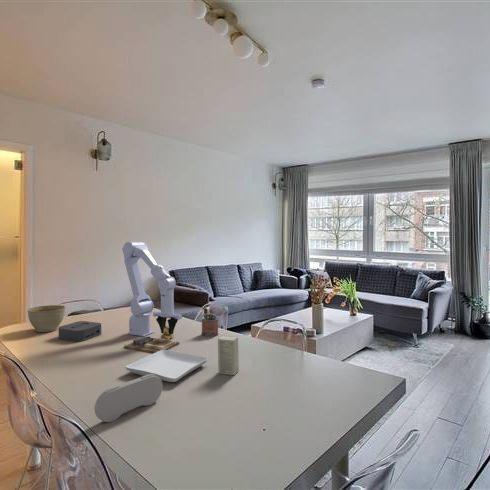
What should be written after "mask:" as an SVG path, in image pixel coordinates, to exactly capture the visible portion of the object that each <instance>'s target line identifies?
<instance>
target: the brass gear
mask: <svg viewBox="0 0 490 490" xmlns="http://www.w3.org/2000/svg"><path fill="white" fill-rule="evenodd" d="M160 339H167V340H173V339H174V333H173V334H171V335H169V325H168V326H167V325H166V326H165V327H163V333H161V334H160Z"/></svg>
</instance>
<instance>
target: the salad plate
mask: <svg viewBox="0 0 490 490" xmlns="http://www.w3.org/2000/svg"><path fill="white" fill-rule="evenodd" d="M208 360H209V357H206V356H202V355H196V354H191V353H186V352H182V351H181V352H180V351H177V350H176V351H175V350H170V349H168V350H161V351H158V352H156V353H150V354H149V355H146V356H145V357H142V358H140V359H138V360H136V361H134V362H132V363H131V362H130V363H129V364H127V365H125V366H124V368H125V370H127V371H129V372H131V373H133V374H135V375H140V376H141V377H142V376H145V375H148V374H154V375H155V376H157V377H159V378H160V379H161V381H163V380H164V382H169V383H175V382H177V381H179V380H180V379H181V378H184V377H185V376H187V375H188V374H190V373H192V372H193V371H194V370H197V369H198V368H200V367H202V366H203V365H204V364H206V363H207V362H208Z"/></svg>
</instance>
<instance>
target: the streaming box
mask: <svg viewBox="0 0 490 490" xmlns="http://www.w3.org/2000/svg"><path fill="white" fill-rule="evenodd" d="M57 330H58V339H59V340H64V341H70V342H83V341H87V340H90V339H93V338H97V337H98V336H101V335H102V323H101V322H94V321H87V320H79V321H74V322H71V323H67V324H65V325H64V324H63V325H61V326H60V325H59V326H58V329H57Z"/></svg>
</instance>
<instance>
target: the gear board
mask: <svg viewBox="0 0 490 490" xmlns="http://www.w3.org/2000/svg"><path fill="white" fill-rule="evenodd" d="M178 345H180V342H179V341H177V340H173V339H169V340H167V339H161V337H158V338H155V337H151V336H150V335H149V336H148V335H147V336H139V337H135V338H134V339H132V342H130V343H128V344H125V345H124V346H123V348H124V349H129V350H135V351H138V352H139V351H141V352H146V353H150V354H153V353H156V352H158V351H161V350H170V349H172V348H174V347H176V346H178Z"/></svg>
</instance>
